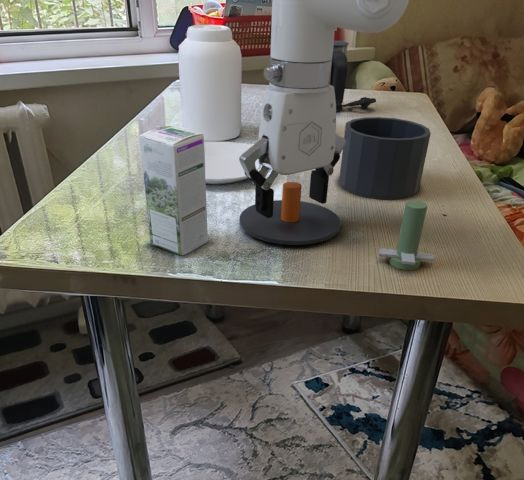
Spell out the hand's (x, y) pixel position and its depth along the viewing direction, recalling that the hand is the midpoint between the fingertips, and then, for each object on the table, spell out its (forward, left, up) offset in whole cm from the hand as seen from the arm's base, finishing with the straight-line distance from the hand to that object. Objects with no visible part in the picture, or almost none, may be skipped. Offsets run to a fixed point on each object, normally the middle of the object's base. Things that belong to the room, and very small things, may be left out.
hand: (291, 207), depth 78 cm
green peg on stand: (-16, +8, -3) cm, 18 cm away
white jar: (+22, -44, -3) cm, 49 cm away
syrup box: (+14, +9, -3) cm, 17 cm away
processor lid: (0, 0, -2) cm, 2 cm away
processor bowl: (-13, -21, -3) cm, 25 cm away
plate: (+16, -21, -3) cm, 27 cm away
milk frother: (-4, -75, -3) cm, 75 cm away
